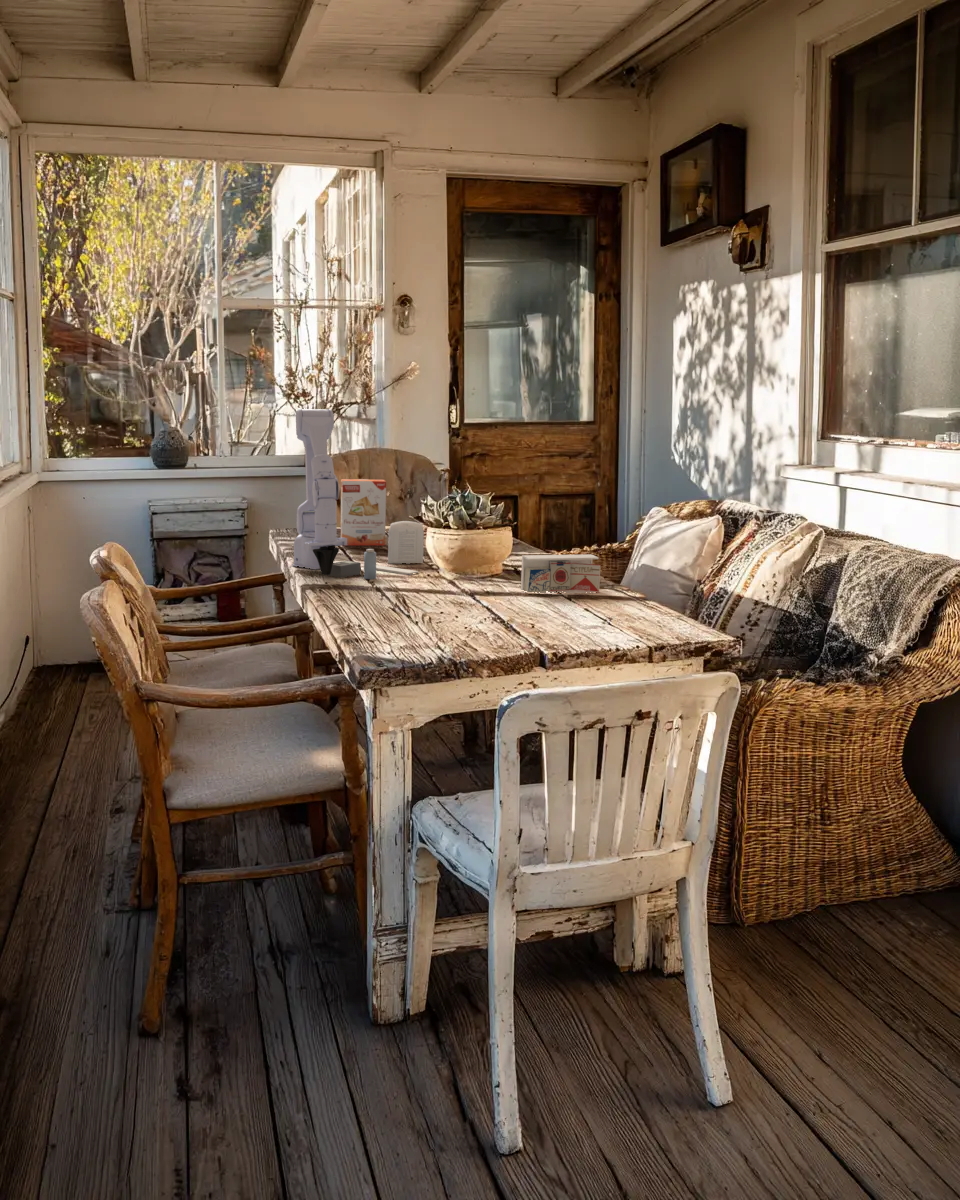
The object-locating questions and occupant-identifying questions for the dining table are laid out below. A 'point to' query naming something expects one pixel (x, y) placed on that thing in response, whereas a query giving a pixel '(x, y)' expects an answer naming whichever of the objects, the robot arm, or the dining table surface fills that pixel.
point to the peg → (370, 564)
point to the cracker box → (363, 512)
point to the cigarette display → (560, 573)
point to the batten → (395, 570)
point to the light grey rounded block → (405, 542)
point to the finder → (345, 569)
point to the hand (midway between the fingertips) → (325, 574)
